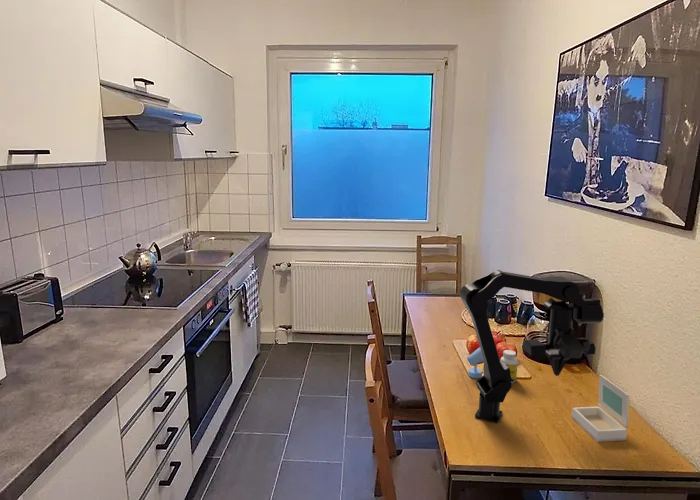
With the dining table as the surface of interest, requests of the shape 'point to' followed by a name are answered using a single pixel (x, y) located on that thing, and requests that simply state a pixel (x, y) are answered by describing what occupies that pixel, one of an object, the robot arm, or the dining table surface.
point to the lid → (614, 400)
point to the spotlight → (475, 363)
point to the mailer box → (599, 424)
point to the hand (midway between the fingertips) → (556, 375)
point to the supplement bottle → (510, 362)
